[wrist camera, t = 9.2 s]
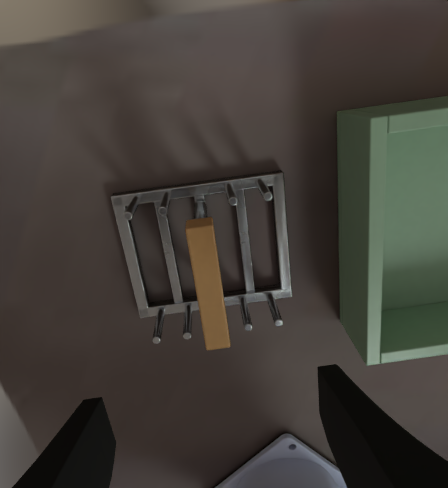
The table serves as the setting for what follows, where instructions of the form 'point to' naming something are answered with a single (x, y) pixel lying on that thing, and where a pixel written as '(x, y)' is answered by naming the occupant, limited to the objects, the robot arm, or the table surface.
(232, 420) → the table surface
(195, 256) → the dish rack
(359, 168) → the green open tray
